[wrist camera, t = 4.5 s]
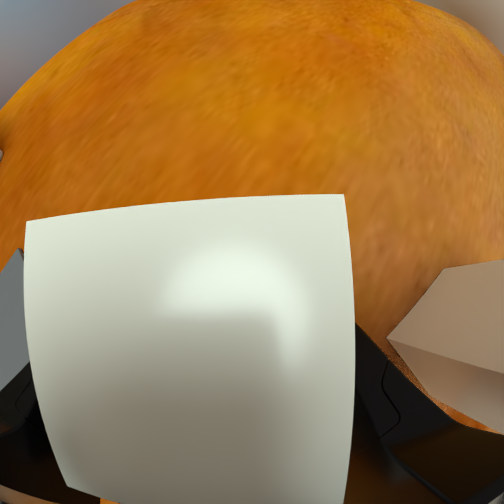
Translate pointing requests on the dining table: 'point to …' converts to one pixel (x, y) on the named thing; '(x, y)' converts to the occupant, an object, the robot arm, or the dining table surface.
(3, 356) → the charcoal mat
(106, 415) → the white rectangular prism
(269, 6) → the dining table surface
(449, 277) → the tall white pillar block
